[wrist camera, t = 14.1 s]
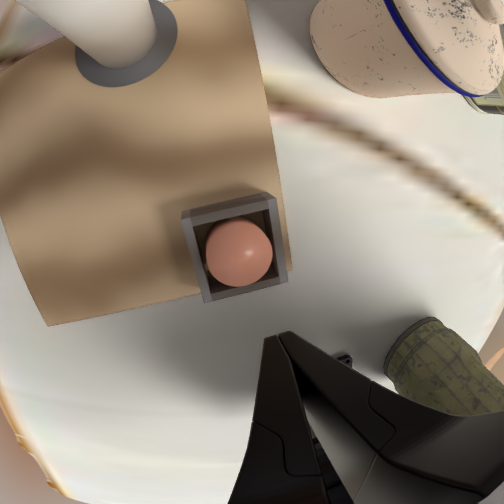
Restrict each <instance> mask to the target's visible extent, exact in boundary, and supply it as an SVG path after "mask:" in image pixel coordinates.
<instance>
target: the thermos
mask: <svg viewBox="0 0 504 504" xmlns="http://www.w3.org/2000/svg"><path fill="white" fill-rule="evenodd" d="M384 373H385V374H386V375H387V377H388V378H389V379H390V380H391V381H392V382H393V383H394V386H395V389H396V391H397V392H398V393H399V395H401V396H404V397H406V398H408V399H411V400H413V401H416V402H418V403H421V404H423V405H426V406H429V407H431V408H434V409H437V410H439V411H442V412H445V413H448V414H452V415H457V416H473V415H480V414H486V413H492V412H498V411H503V410H504V385H503V384H502V383H501V382H500V381H499V380H498V379H497V378H496V377H495V376H494V375H493V374H492V373H491V372H490V371H489V370H488V369H487V368H486V367H485V366H484V365H483V364H482V362H481V359H480V357H479V355H478V353H477V351H476V350H475V349H474V348H472V347H471V346H470V345H469V344H468V343H467V342H466V341H465V340H464V339H462V338H461V337H460V336H459V335H458V334H457V333H456V332H454V331H453V330H452V329H448V328H447V327H445V326H444V325H443V323H442V322H441V321H440V320H438V319H437V318H435V317H428V318H425V319H423V320H420V321H418V322H417V323H415V324H414V325H413V326H411V327H410V328H409V329H407V330H406V331H405V332H404V333H403V334H402V335H401V336H400V337H399V339H398V340H397V341H396V342H395V344H394V345H393V346H392V348H391V349H390V351H389V353H388V355H387V357H386V360H385V363H384Z"/></svg>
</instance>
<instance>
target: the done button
mask: <svg viewBox="0 0 504 504" xmlns="http://www.w3.org/2000/svg"><path fill="white" fill-rule="evenodd" d="M205 253H206V259H207V265H208V268H209V270H210V272H211V274H212V275H213V276H214V277H215V278H216V279H217V280H218V281H220V282H221V283H223V284H226V285H229V286H235V287H240V286H246V285H249V284H252V283H254V282H256V281H257V280H259V279H260V278H261V277H262V276H263V275H264V274H265V273H266V272H267V270H268V269H269V267H270V264H271V261H272V246H271V243H270V241H269V239H268V238H267V236H266V235H265V234H264V232H263V231H262V230H261V229H260V227H259V226H258V225H257V224H256V223H255V222H254V221H253V220H251V219H249V218H247V217H245V216H240V215H239V216H235V217H231V218H226V219H222V220H218V221H217V222H216V223H214V224H213V225H212V227H211V228H210V229H209V231H208V233H207V235H206V238H205Z"/></svg>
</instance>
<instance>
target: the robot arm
mask: <svg viewBox="0 0 504 504" xmlns="http://www.w3.org/2000/svg"><path fill="white" fill-rule="evenodd" d="M252 421H253V422H252V424H251V430H250V436H249V441H248V445H247V450H246V453H245V456H244V460H243V463H242V466H241V469H240V472H239V474H238V477H237V480H236V483H235V485H234V488H233V491H232V494H231V496H230V499H229V501H228V504H504V410H503V411H498V412H492V413H486V414H480V415H473V416H457V415H452V414H448V413H445V412H442V411H439V410H437V409H434V408H431V407H429V406H426V405H423V404H421V403H418V402H416V401H413V400H411V399H408V398H406V397H404V396H401V395H399V394H397V393H395V392H393V391H391V390H389V389H387V388H385V387H383V386H382V385H380V384H378V383H376V382H375V381H371V379H369V378H367V377H366V376H364V375H362V374H361V373H359V372H357V371H355V370H354V369H352V358H351V356H350V355H345V356H342V357H340V358H337V359H335V358H334V357H332V356H330V355H329V354H327V353H325V352H324V351H322V350H320V349H319V348H317V347H316V346H314V345H312V344H311V343H309V342H308V341H306V340H304V339H303V338H301V337H300V336H298V335H296V334H295V333H293V332H291V331H287V332H284V333H281V334H279V335H278V336H277V335H274V336H270V337H266V338H265V339H264V344H263V351H262V358H261V365H260V372H259V379H258V386H257V392H256V399H255V406H254V412H253V419H252Z"/></svg>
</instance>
